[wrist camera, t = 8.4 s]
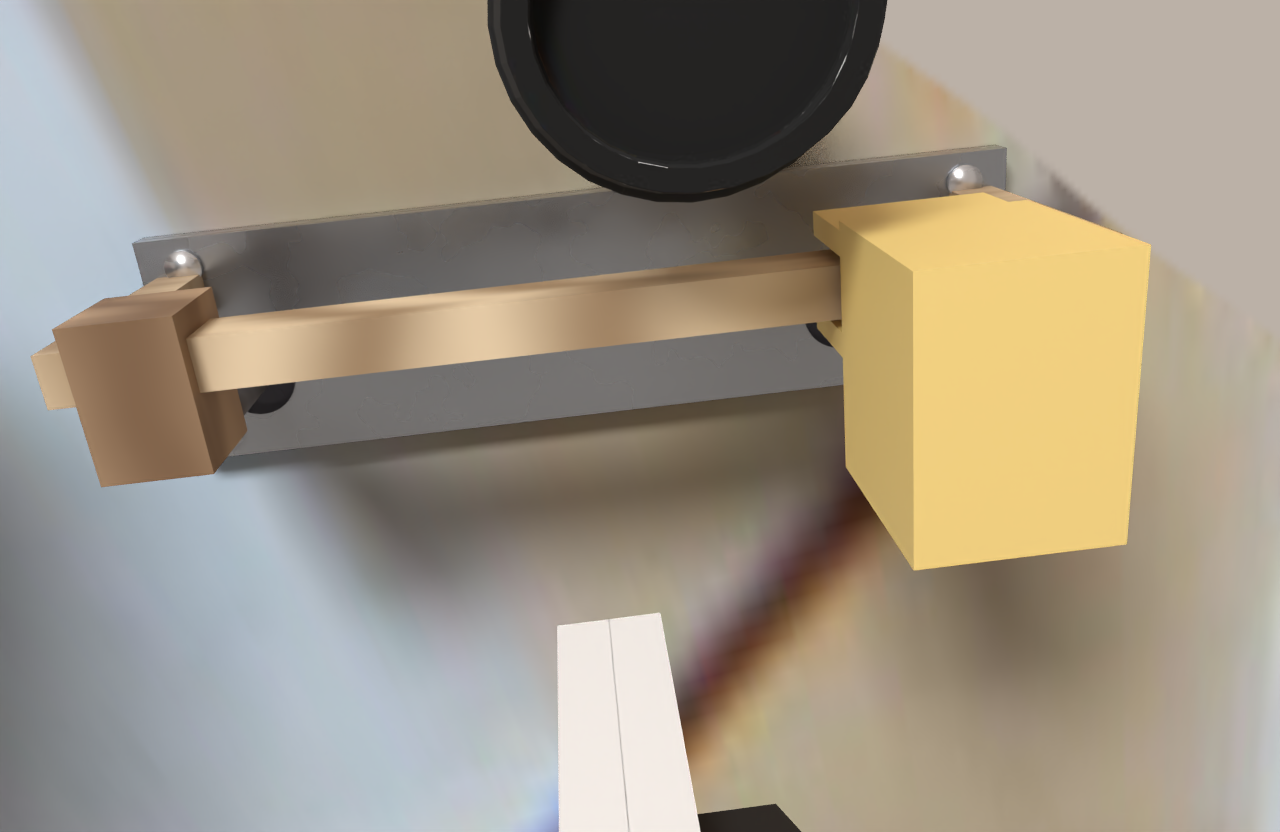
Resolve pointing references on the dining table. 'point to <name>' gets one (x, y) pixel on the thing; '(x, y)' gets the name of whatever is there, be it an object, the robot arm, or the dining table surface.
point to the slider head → (988, 373)
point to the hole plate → (535, 252)
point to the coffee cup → (682, 85)
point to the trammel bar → (376, 344)
